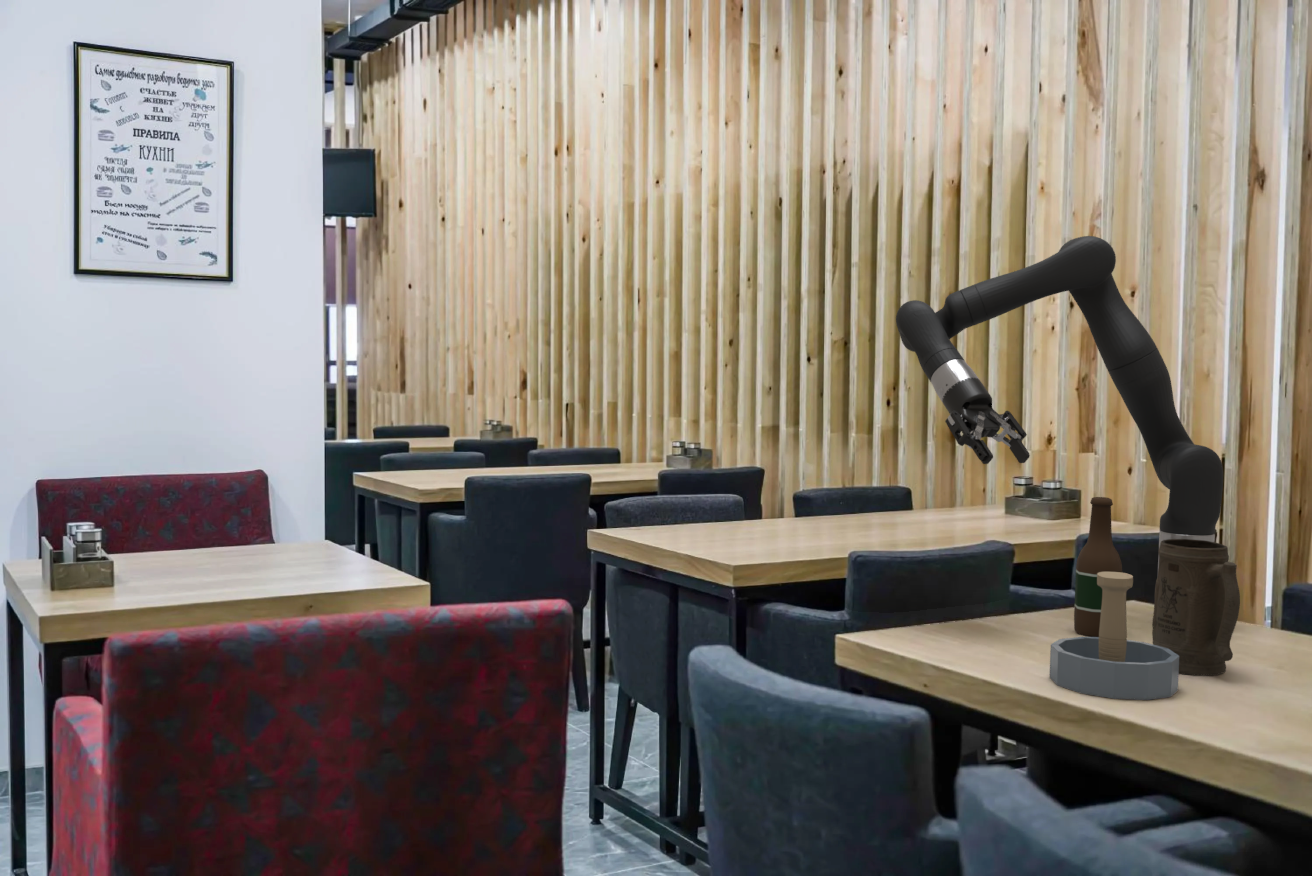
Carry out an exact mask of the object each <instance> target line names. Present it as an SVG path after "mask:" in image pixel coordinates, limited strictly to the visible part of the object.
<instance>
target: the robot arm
mask: <svg viewBox="0 0 1312 876" xmlns="http://www.w3.org/2000/svg"><path fill="white" fill-rule="evenodd" d="M1116 257H1117V256H1116V253H1115V250H1114V247H1112V245H1111V244H1110V243H1109V242H1108V241H1106V240H1105V239H1103V238H1100V237H1097V236H1093V235H1086V236H1085V235H1084V236H1079V237H1075V238H1071V239H1070V240H1068V241H1066V242H1065V243H1064V244H1063V245H1062V246H1061V247H1060V249H1058V251H1057V252H1056V253H1054V254H1052V255H1051V256H1048V257H1047V258H1045V259H1043V260H1041V261H1038V262H1036V263H1033V264H1031V265H1029V266H1027V267H1023V268H1021V269H1017V270H1014V271H1011V272H1007V273H1005V274H1001V275H998V276H995V277H992V278H988V279H986V280H983V281H980V282H977V283H975V284H971V285H969V286H965V287H964V288H962V289H959V290H957V291H954V292H952V293H949V294H948V295H946V298H945V301H944V304H943V307H942V308H941V309H939V310H937V311H935V310H934V309H933V308H932V307H931V306H930V305H929V304H928V303H926V302H924V301H922V300H917V299H915V300H914V299H913V300H909V301H905V303H903V304H901V305H900V307H899V308H898V310H897V311H896V315H895V316H896V317H895V325H896V327H897V330H898V333H899V337H900V340H901V342H902V344H903V346H904V347H905V349H907V350H908V351H910V352H913V353H915V355H916V357H917V359H918V363H919V365H920V367H921V369H922V371H923V373H924V374H925V375H926V377H927V379H928V380H929V382H930V383H931V385H932V387H933V389H934V391H935V393H936V395H937V396H938V398H939V400H940V401H941V403H942V404H943V405H944V408H945V409H946V411H947V412H948V413H949V415H948V416H947V418H946V419H945V421H944V422H945V425H947V427H948V429H949V431H950V432H951V434H952V435H953V438H954V439H955V440H956V442H957V444H958V445H959V446H961V447H963V446H964V445H966V446H967V447H968V448H969V449H971V450H973V452H974V454H975V456H976V457H977V459H979V460H980V461H981V464H983V465H988V464H989V463H990V462H991V461H992V460H993V459H994V454H993V453H992V451H991V450H990V448H989V447H988V445H987V444H986V442H985V441H984V439H982V438H985V437H986V438H992V439H993V440H995V441H996V442H998V443H1000V442H1002V443H1003V444H1005V445H1006V446H1007V447H1008V448H1009V450H1010V452H1011V453H1012V454H1013V456H1014V457H1015V459H1016V460H1017V462H1018V463H1019V464H1025V463H1026V462H1027V460H1028V459H1029V458H1030V456H1031V455H1030V453H1029V451H1028V450H1027V448H1026V446H1025V445H1024V443H1023V440H1024V439H1025V438H1026V437H1027V435H1028V434H1027V432H1026V431H1025V430H1024V429H1023V427H1022V425H1020V423H1019V422H1018V420H1017V419H1016V418H1015V417H1014V415H1013V414H1012V412H1010V411H1009V410H1005V411H1004V413H998V412H997V411H996V410H995V409H994V408H993V397H992V396H991V394H990V392H989V391H988V390H987V388H986V387H985V386H984V383H982V381H981V379H980V378H979V377H978V375H977V374H976V373H975V370H974V369H973V368H972V367H971V366H970V365H969V364H968V363H967V362H966V360H965V359H964V357H963V356H962V355H961V353H960V352H959V350H958V349H957V348H956V347H955V345H954V344H953V342H951V339H952V338H954V337H956V336H957V335H959V334H960V333H961V332H963V331H964V330H966V329H968V328H971V327H974V326H977V325H980V324H982V323H984V322H986V321H989V320H993V319H995V318H996V317H999V316H1002V315H1004V314H1006V313H1009V312H1011V311H1014V310H1016V309H1018V308H1020V307H1024V306H1025V305H1028V304H1031V303H1032V302H1035V301H1038V300H1040V299H1043V298H1047V297H1051V296H1053V295H1057V294H1059V293H1064V292H1069V293H1070V295H1071V297H1072V298H1073V299H1074V301H1075V303H1076V305H1077V306H1078V308H1079V309H1080V311H1081V313H1082V315H1083V316H1084V318H1085V321H1086V323H1087V325H1088V328H1089V330H1090V333H1091V335H1092V338H1093V341H1094V343H1095V345H1096V348H1097V350H1098V352H1099V354H1100V357H1101V359H1102V361H1103V364H1104V366H1105V368H1106V369H1107V373H1108V374H1109V377H1110V378H1111V380H1112V382H1113V384H1114V386H1115V387H1116V389H1117V392H1118V393H1119V396H1121V398H1122V400H1123V402H1124V404H1125V407H1126V408H1127V410H1128V412H1129V414H1130V416H1131V417H1132V419H1133V422H1135V425H1136V426H1137V428H1138V429H1139V432H1140V434H1141V437H1142V439H1143V441H1144V444H1145V446H1146V449H1147V452H1148V455H1149V458H1150V461H1151V464H1152V466H1153V469H1154V472H1155V474H1156V477H1157V478H1158V480H1159V481H1160V483H1161V484H1162V485H1163V486H1164V487H1165V488H1167V489H1168V490H1169V495H1168V505H1167V509H1166V511H1165V512H1163V514H1161V516H1160V518H1159V528H1158V529H1159V532H1158V533H1159V534H1158V535H1159V537H1158V549H1159V548H1160V543H1161V541H1163V540H1167V539H1192V540H1205V541H1210V542H1215V539H1216V538H1215V537H1216V526H1217V524H1218V521H1219V519H1220V516H1221V509H1222V501H1223V500H1222V499H1223V498H1222V497H1223V491H1224V490H1223V488H1224V468H1223V463H1222V460H1221V458H1220V456H1219V454H1218V453H1217V452H1216V451H1214V450H1213V449H1211V448H1210V447H1208V446H1204V445H1200V444H1195V443H1194V442H1193V440H1192V439H1191V437H1190V436H1189V433H1187V430H1186V429H1185V427H1184V425H1183V424H1182V422H1181V420H1180V418H1179V416H1178V413H1177V409H1176V406H1175V401H1174V392H1173V387H1172V385H1173V384H1172V380H1171V377H1170V373H1169V369H1168V368H1167V367H1168V366H1167V365H1166V362H1165V361H1164V358H1163V357H1162V355H1161V353H1160V350H1159V348H1158V347H1157V345H1156V343H1155V341H1154V340H1153V338H1152V337H1151V334H1149V332H1148V331H1147V329H1146V328H1145V326H1144V325H1143V324H1142V323H1141V321H1140V320H1139V319H1138V317H1137V316H1136V315H1135V314H1134V313H1133V311H1132V310H1131V309H1130V308H1129V306H1128V305H1127V303H1126V301H1125V300H1124V299H1123V296H1122V295H1121V293H1120V291H1119V288H1118V286H1117V283H1116V281H1115V279H1114V277H1113V272H1114V270H1115V267H1116V263H1117V258H1116ZM1000 429H1003V430H1002V431H1001V432H1000V433H998V432H999V431H1000ZM961 433H962V434H961ZM1006 435H1007V436H1008V437H1009V438H1010V439H1009V438H1008V437H1006ZM1215 543H1216V542H1215ZM1158 568H1159V556H1158V562H1157V569H1158Z"/></svg>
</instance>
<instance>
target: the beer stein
mask: <svg viewBox="0 0 1312 876" xmlns="http://www.w3.org/2000/svg"><path fill="white" fill-rule="evenodd" d="M1158 557H1159V568H1158V567H1157V578H1156V580H1155V586H1154V607H1153V615H1152V620H1151V621H1152V622H1151V624H1152V633H1151V636H1152V642H1151V644H1153V645H1157V646H1160V647H1164V648H1168V649H1170V650H1171V651H1173V652H1174V653H1176V654H1177V655H1179V674H1182V675H1188V676H1189V675H1191V676H1216V675H1221V674H1223V673H1225V672H1226V671H1227V665H1226V662H1229V661H1231V660H1232V659H1233V655H1234V654H1233V651H1232V648H1231V640H1232V637H1233V634H1234V631H1235V629H1236V625H1237V623H1238V618H1239V614H1240V606H1241V595H1240V594H1241V593H1240V587H1239V583H1238V578H1237V564H1236V563H1235V562H1232V561H1229V560H1230V556H1229V550H1228V546H1227V545H1224V544H1223V543H1219V542H1210V541H1205V540H1192V539H1167V540H1163V541H1161V543H1160V548H1159V547H1158Z"/></svg>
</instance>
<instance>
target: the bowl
mask: <svg viewBox="0 0 1312 876" xmlns="http://www.w3.org/2000/svg"><path fill="white" fill-rule="evenodd" d="M1179 675H1180V673H1179V655H1177V654H1176V653H1174V652H1173V651H1171V650H1170V649H1168V648H1164V647H1160V646H1157V645H1153V643H1150V642H1149V643H1148V642H1145V641H1139V640H1138V641H1137V640H1132V639H1127V647H1126V657H1125V662H1114V661H1107V660H1100V659H1099V637H1089V636H1078V637H1066V638H1059V639H1058V640H1056V641H1054V642H1053V643H1050V656H1049V679H1051V680H1052V681H1053V683H1054V684H1055V685H1057V686H1058V687H1062V688H1064V689H1068V690H1070V691H1073V692H1076V693H1080V694H1082V695H1083V694H1084V695H1088V696H1090V695H1091V696H1094V697H1095V696H1097V697H1101V698H1106V699H1107V698H1108V699H1114V700H1115V699H1116V700H1135V701H1136V700H1138V701H1142V700H1143V701H1150V700H1158V699H1164V698H1171V697H1173V696H1174V694H1176V693H1177V692H1178V691H1179Z"/></svg>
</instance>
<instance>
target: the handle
mask: <svg viewBox="0 0 1312 876" xmlns="http://www.w3.org/2000/svg"><path fill="white" fill-rule="evenodd" d="M1133 584H1134V576H1133V575H1132V574H1129V573H1126V572H1122V573H1121V572H1099V573H1097V585H1098V586H1100V587H1101V588H1102V590H1103V591H1102V606H1101V617H1100V627H1099V659H1100V660H1107V661H1114V662H1125V657H1126V647H1127V640H1128V639H1127V638H1128V629H1127V627H1128V626H1127V624H1128V623H1127V592H1128V590H1130V589H1131V588H1133Z"/></svg>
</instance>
